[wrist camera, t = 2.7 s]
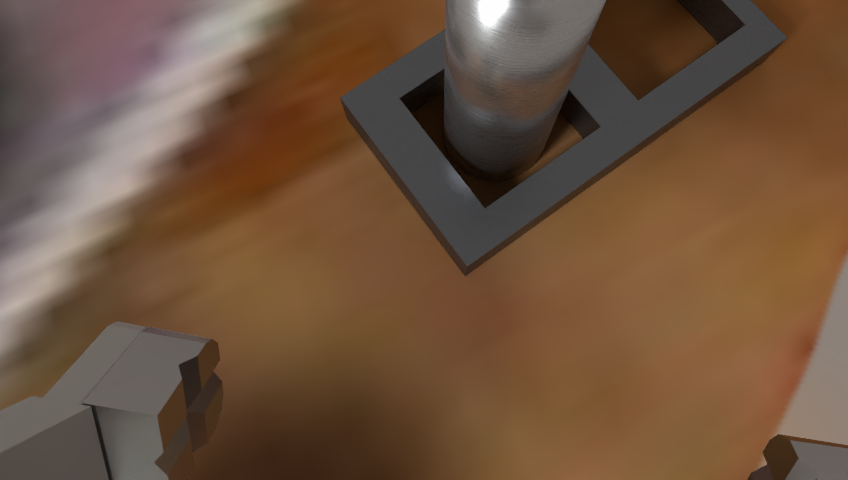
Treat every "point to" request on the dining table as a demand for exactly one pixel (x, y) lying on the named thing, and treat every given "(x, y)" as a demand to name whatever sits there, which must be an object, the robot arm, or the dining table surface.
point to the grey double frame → (583, 107)
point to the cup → (509, 78)
